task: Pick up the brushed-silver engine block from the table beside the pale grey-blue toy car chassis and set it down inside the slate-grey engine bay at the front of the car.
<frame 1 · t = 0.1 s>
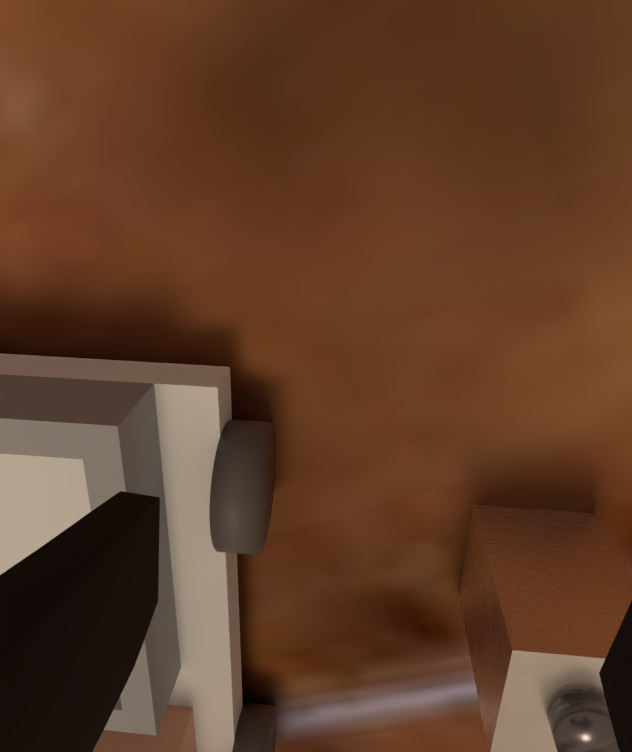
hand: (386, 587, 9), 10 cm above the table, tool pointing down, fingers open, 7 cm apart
chassis: (93, 584, 23), on the table
engine block: (523, 555, 20), on the table
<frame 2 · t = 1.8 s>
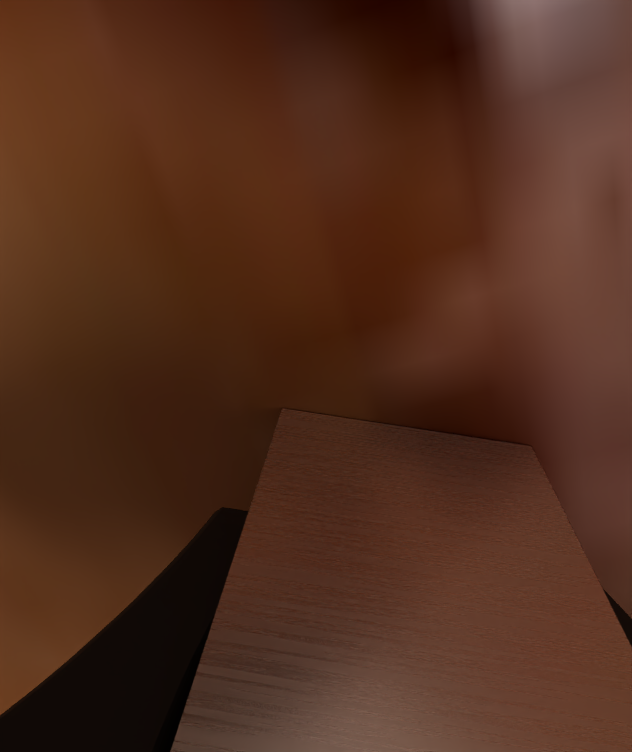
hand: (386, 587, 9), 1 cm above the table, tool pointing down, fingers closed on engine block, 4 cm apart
engine block: (384, 527, 10), on the table, touching gripper
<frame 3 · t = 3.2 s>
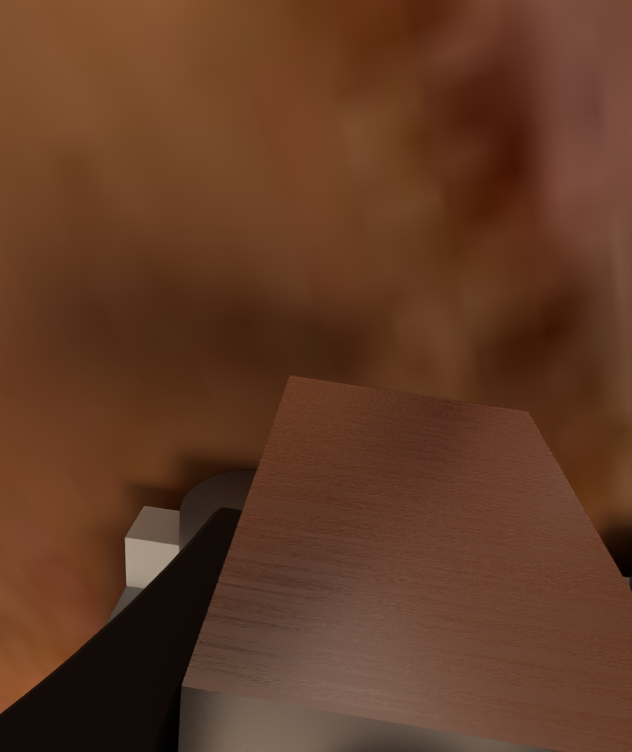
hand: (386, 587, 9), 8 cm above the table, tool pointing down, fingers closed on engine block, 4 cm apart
chassis: (429, 666, 21), on the table
engine block: (387, 493, 10), point 6 cm above the table, touching gripper
when the fingers open (5 cm above the table, at t = 4.8 s): engine block stays where it is, resting on chassis.
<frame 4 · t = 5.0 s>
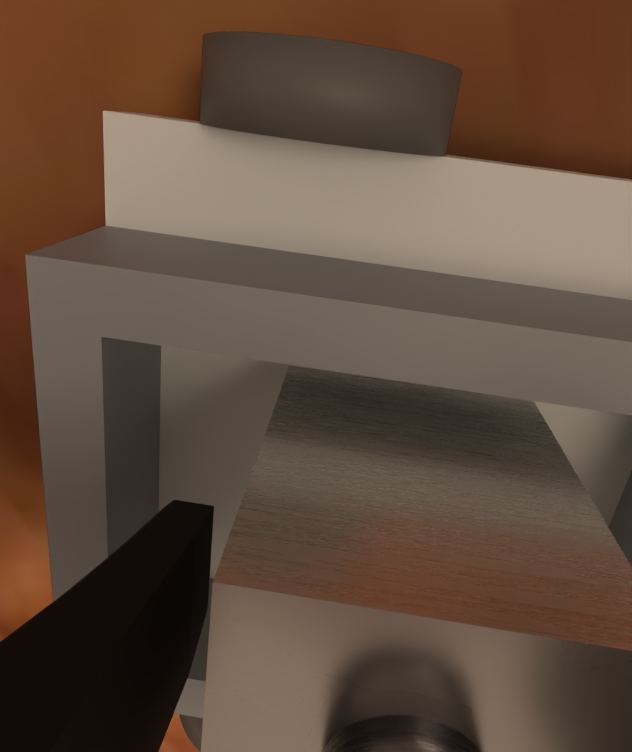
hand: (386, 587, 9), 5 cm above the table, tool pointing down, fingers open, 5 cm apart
chassis: (572, 450, 14), on the table
engine block: (387, 454, 11), point 2 cm above the table, touching chassis
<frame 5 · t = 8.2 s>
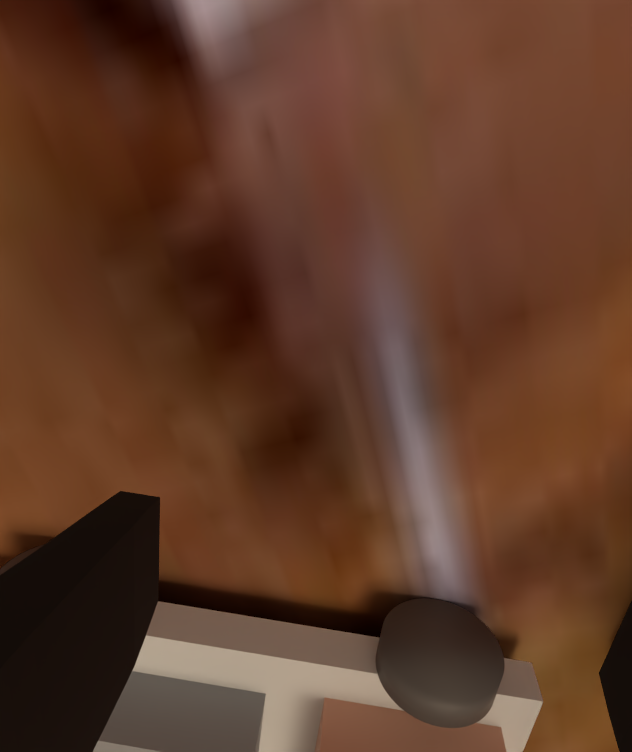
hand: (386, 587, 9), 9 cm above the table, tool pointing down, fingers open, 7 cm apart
chassis: (243, 705, 24), on the table
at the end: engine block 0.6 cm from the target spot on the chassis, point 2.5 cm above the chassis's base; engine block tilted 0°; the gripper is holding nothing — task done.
